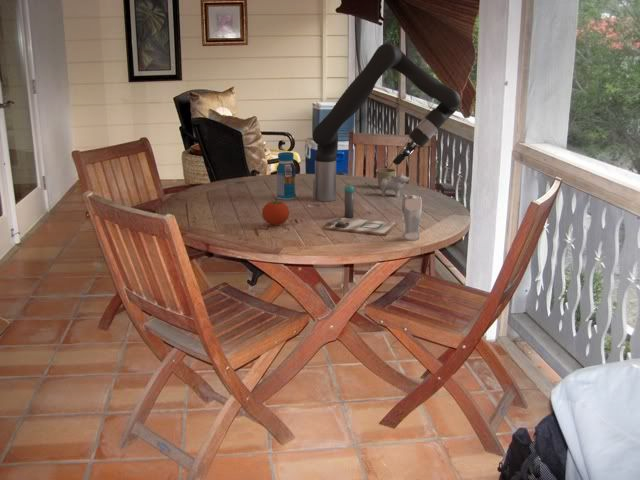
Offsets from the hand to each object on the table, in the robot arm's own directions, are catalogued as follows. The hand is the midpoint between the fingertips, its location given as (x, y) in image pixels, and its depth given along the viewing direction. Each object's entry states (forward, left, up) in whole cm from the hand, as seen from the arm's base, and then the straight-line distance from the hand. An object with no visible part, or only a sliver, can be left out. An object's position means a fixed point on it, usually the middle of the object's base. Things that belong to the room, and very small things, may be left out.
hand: (395, 163), depth 270 cm
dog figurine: (-8, +29, -20) cm, 36 cm away
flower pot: (-16, +43, -20) cm, 50 cm away
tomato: (-36, -36, -20) cm, 55 cm away
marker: (-14, -15, -20) cm, 29 cm away
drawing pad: (-5, -27, -20) cm, 34 cm away
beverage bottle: (-51, +7, -20) cm, 56 cm away
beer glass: (+16, -35, -20) cm, 43 cm away
